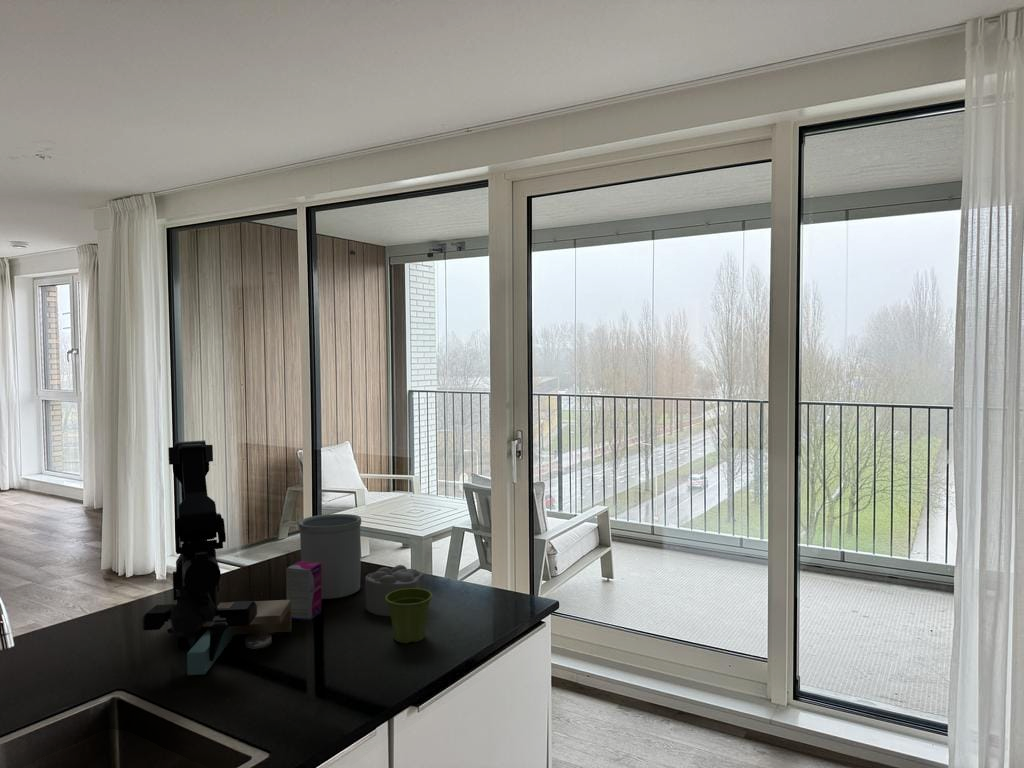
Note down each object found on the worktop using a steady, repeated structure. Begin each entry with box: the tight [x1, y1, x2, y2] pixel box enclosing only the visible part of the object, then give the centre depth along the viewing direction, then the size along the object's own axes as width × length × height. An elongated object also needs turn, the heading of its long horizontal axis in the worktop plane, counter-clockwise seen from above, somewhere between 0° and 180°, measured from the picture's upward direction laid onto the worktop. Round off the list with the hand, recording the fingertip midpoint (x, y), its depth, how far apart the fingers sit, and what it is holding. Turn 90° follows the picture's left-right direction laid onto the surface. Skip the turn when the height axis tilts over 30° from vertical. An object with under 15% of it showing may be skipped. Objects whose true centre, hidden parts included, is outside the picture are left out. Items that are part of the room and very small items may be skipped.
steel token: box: [244, 633, 273, 650], centre depth 139 cm, size 5×5×2 cm
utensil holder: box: [298, 513, 362, 600], centre depth 171 cm, size 15×15×18 cm
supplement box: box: [285, 560, 323, 622], centre depth 153 cm, size 6×6×12 cm
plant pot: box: [385, 588, 433, 644], centre depth 141 cm, size 9×9×9 cm
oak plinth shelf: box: [202, 599, 293, 636], centre depth 140 cm, size 15×9×6 cm, turn 95°
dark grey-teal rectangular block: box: [186, 626, 234, 676], centre depth 133 cm, size 3×17×4 cm, turn 6°
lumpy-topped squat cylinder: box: [364, 564, 425, 617], centre depth 158 cm, size 10×13×9 cm
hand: (202, 660), depth 128 cm, fingers closed on dark grey-teal rectangular block, 3 cm apart
